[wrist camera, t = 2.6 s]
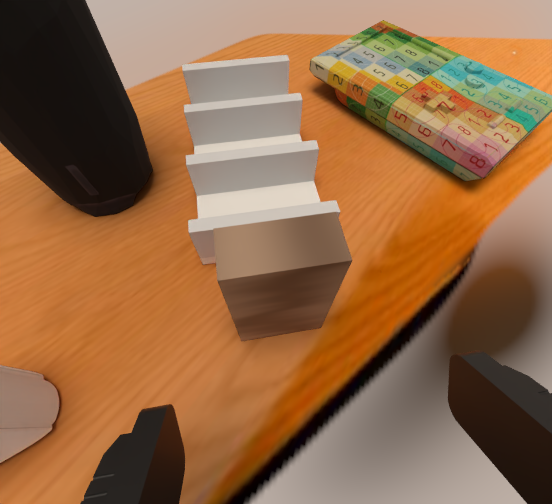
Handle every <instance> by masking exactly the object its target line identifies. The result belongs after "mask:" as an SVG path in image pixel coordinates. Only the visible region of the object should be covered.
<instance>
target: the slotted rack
mask: <svg viewBox="0 0 552 504" xmlns="http://www.w3.org/2000/svg"><path fill="white" fill-rule="evenodd" d="M183 74H184V78H185V81H186V85H187V89H188V93H189V97H190V100H191V104H188V105H184V113H185V117H186V120H187V124H188V127H189V130H190V134H191V137H192V141H193V144H194V154H193V155H186V166H187V169H188V172H189V175H190V177H191V180H192V183H193V186H194V189H195V192H196V195H197V208H198V219H193V220H188V226H189V234H190V237H191V239H192V241H193V243H194V246H195V248H196V250H197V252H198V254H199V257H200V259H201V261H202V263H203V265H205V264H211V263H216V257H215V245H214V233H213V229H214V228H221V227H228V226H236V225H243V224H250V223H257V222H265V221H272V220H279V219H286V218H294V217H301V216H308V215H315V214H323V213H330V212H337V215H338V217H339V214H340V210H339V207H338V204H337V201H336V200H334V201H326V202H320V199H319V196H318V193H317V189H316V186H315V183H314V177H315V171H316V165H317V158H318V152H319V148H318V145H317V142H316V140H312V141H303V142H302V140H301V136H300V124H301V112H302V97H301V94H300V93H294V94H288V81H289V58H288V55H280V56H270V57H259V58H248V59H238V60H227V61H216V62H206V63H195V64H184V65H183Z"/></svg>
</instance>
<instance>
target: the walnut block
mask: <svg viewBox="0 0 552 504" xmlns="http://www.w3.org/2000/svg"><path fill="white" fill-rule="evenodd" d="M213 233H214V245H215V257H216V269H217V281H218V283H219V286H220V288H221V291H222V293H223V296H224V298H225V301H226V303H227V306H228V308H229V311H230V313H231V316H232V318H233V321H234V323H235V326H236V328H237V331H238V333H239V336H240V338H241V341H246V340H252V339H258V338H264V337H269V336H275V335H281V334H287V333H293V332H299V331H305V330H311V329H317V328H321V326H322V324H323V322H324V320H325V318H326V315H327V313H328V311H329V309H330V307H331V305H332V303H333V301H334V298H335V296H336V294H337V292H338V290H339V288H340V286H341V283H342V281H343V279H344V277H345V275H346V273H347V271H348V268H349V266H350V264H351V262H352V258H351V255H350V252H349V249H348V246H347V243H346V240H345V237H344V234H343V231H342V227H341V224H340V221H339V218H338V215H337V212H330V213H323V214H315V215H308V216H301V217H294V218H286V219H279V220H272V221H265V222H257V223H250V224H243V225H236V226H228V227H221V228H214V229H213Z"/></svg>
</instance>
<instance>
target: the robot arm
mask: <svg viewBox="0 0 552 504" xmlns="http://www.w3.org/2000/svg"><path fill="white" fill-rule="evenodd" d="M448 402H449V406H450V409H451V412H452V414H453V416H454V418H455V419H456V421H457V422H458V423H459V424H460V426H461V427H462V428H463V429H464V430H465V431H466V433H467V434H468V435H469V436H470V437H471V439H472V440H473V441H474V442H475V443H476V444H477V446H479V448H480V449H481V450H482V451H483V452H484V454H485V455H486V456H487V457H488V458H489V459H490V461H491V462H492V463H493V464H494V465H495V466H496V468H497V469H498V470H499V471H500V472H501V473H502V474H503V476H504V477H505V478H506V479H507V480H508V482H509V483H510V484H511V485H512V486H513V487H514V489H515V490H516V491H517V492H518V493H519V494H520V496H521V497H522V498H523V499H524V500H525V501H526V502H527V504H552V393H551V394H550V393H549V392H548V390H547V389H545V388H544V387H543V386H541V385H540V384H539V383H537V382H536V381H535V380H533V379H532V378H530V377H529V376H527V375H525V374H523V373H521V372H518V371H516V370H514V369H512V368H510V367H508V366H502V365H501V364H499V363H498V362H497V361H495V360H494V359H493V358H491V357H490V356H489V355H487V354H486V353H484V352H483V351H472V352H466V353H461V354H456V355H453V356H451V358H450V366H449V386H448ZM184 471H185V452H184V446H183V442H182V438H181V434H180V430H179V426H178V422H177V418H176V414H175V411H174V408H173V406H172V405H171V404H169V405H163V406H158V407H152V408H147V409H142V410H141V412H140V413H139V415H138V418H137V420H136V423H135V425H134V428H133V430H132V433H128V434H122V435H120V436H119V437H118V438H117V440H116V441H115V442H114V443H113V444H112V445H111V447H110V448H109V449H108V450H107V451H106V452H105V454H104V455H103V457H102V459H101V461H100V463H99V465H98V468H97V470H96V472H95V474H94V476H93V481H91V482H90V485H89V487H88V489H87V491H86V493H85V495H84V501H81V504H179V501H180V495H181V489H182V484H183V478H184Z"/></svg>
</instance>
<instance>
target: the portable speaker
mask: <svg viewBox="0 0 552 504" xmlns="http://www.w3.org/2000/svg"><path fill="white" fill-rule="evenodd" d="M0 142H1V143H2V144H3V145H4V146H5V147H6V148H7V149H8V150H9V151H10V152H11V153H12V154H13V155H14V156H15V157H16V158H17V159H18V160H19V161H20V162H21V163H23V164H24V165H25V166H26V167H27V168H28V169H29V170H30V171H31V172H33V173H34V174H35V175H36V176H37V177H38V178H39V179H40V180H42V181H43V182H44V183H45V184H46V185H47V186H48V187H49V188H51V189H52V190H53V191H54V192H55V193H56V194H57V195H58V196H59V197H61V198H62V199H63V200H64V201H66V202H67V203H69V204H71V205H74V206H76V207H77V208H79V209H80V210H82V211H84V212H85V213H88V214H90V215H93V216H102V215H109V214H115V213H118V212H120V211H122V210H124V209H126V208H128V207H131V206H133V203H134V199H135V196H136V194H137V193H138V192H139V191H140V190H141V189H142V187H143V186H144V185H145V184H146V182H147V180H148V177H149V175H150V173H151V172H152V171H153V169H152V166H151V163H150V160H149V156H148V151H147V148H146V145H145V142H144V138H143V135H142V132H141V129H140V125H139V122H138V119H137V116H136V113H135V111H134V109H133V107H132V104H131V102H130V100H129V98H128V95H127V93H126V91H125V89H124V86H123V84H122V82H121V80H120V77H119V75H118V73H117V71H116V68H115V66H114V64H113V62H112V59H111V57H110V55H109V53H108V50H107V48H106V46H105V44H104V41H103V39H102V37H101V35H100V32H99V30H98V28H97V26H96V24H95V21H94V19H93V17H92V14H91V12H90V10H89V8H88V6H87V3H86V1H85V0H0Z"/></svg>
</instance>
